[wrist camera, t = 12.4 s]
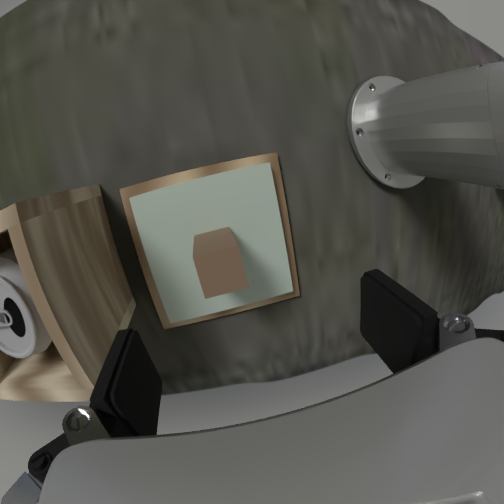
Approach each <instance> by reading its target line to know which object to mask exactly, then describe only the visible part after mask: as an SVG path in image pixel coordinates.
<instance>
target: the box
mask: <svg viewBox="0 0 504 504" xmlns="http://www.w3.org/2000/svg"><path fill="white" fill-rule="evenodd" d="M12 247H13V249H14V252H15V255H16V258H17V261H18V264H19V267H20V269H21V272H22V275H23V278H24V280H25V283H26V285H27V288H28V290H29V293H30V295H31V297H32V300H33V302H34V304H35V306H36V309H37V311H38V313H39V315H40V317H41V319H42V321H43V323H44V325H45V327H46V329H47V331H48V333H49V335H50V337H51V339H52V342H51V343H50V345H49V346H48V348H47V349H46V350H45V351H43V352H41V353H39V354H32V355H31V356H29V357H27V358H25V359H24V358H15V357H12V356H10V355H7V354H6V353H4V352H3V351H1V350H0V399H4V400H18V401H40V402H73V401H90V397H91V394H92V392H93V389H94V386H95V384H96V381H97V379H98V376H99V374H100V371H101V369H102V366H103V364H104V361H105V359H106V357H107V354H108V352H109V350H110V347H111V345H112V343H113V341H114V338H115V336H116V334H117V332H118V330H123V329H127V328H128V325H129V323H130V320H131V317H132V315H133V312H134V310H135V307H136V302H135V300H134V297H133V295H132V292H131V289H130V287H129V284H128V281H127V278H126V275H125V273H124V270H123V267H122V264H121V261H120V258H119V255H118V251H117V248H116V245H115V242H114V238H113V235H112V232H111V228H110V225H109V221H108V217H107V214H106V210H105V206H104V202H103V198H102V194H101V190H100V185H94V186H89V187H84V188H78V189H73V190H68V191H64V192H59V193H54V194H50V195H45V196H41V197H37V198H33V199H29V200H25V201H21V202H17V203H14V204H12V205H10V206H9V207H7V208H5V209H3V210H1V211H0V254H1V253H3V252H4V251H6V250H8V249H10V248H12Z"/></svg>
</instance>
